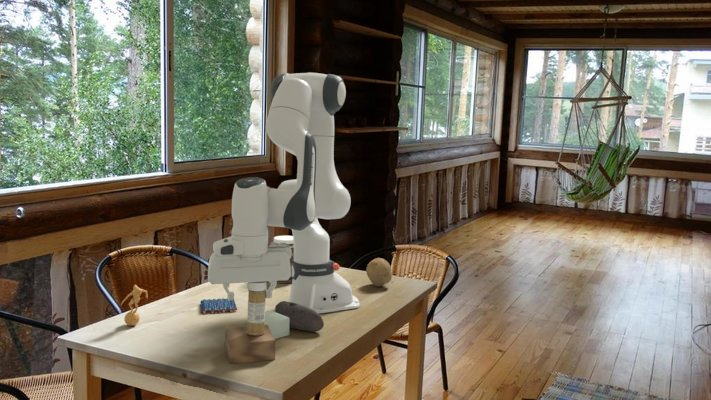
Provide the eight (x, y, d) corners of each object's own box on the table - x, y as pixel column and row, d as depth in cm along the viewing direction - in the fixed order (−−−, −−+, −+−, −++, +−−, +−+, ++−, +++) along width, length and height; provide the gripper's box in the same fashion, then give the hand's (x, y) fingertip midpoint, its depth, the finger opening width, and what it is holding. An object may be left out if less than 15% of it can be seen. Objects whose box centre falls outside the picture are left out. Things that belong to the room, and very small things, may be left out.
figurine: (140, 319, 180) (139, 279, 178) (153, 324, 177) (153, 283, 175) (114, 327, 174) (113, 285, 172) (127, 332, 170) (126, 289, 168)
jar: (289, 272, 234) (290, 233, 232) (308, 280, 225) (309, 239, 223) (262, 277, 227) (262, 236, 224) (280, 285, 218) (280, 242, 216)
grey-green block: (271, 327, 178) (271, 310, 177) (289, 335, 173) (289, 317, 172) (247, 334, 173) (247, 316, 172) (265, 342, 167) (265, 324, 166)
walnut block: (267, 343, 166) (267, 324, 165) (275, 359, 156) (275, 340, 155) (224, 346, 163) (224, 328, 162) (229, 363, 152) (229, 344, 152)
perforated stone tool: (328, 331, 176) (328, 307, 175) (317, 337, 171) (318, 312, 170) (283, 321, 183) (284, 298, 182) (272, 326, 178) (273, 302, 177)
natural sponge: (366, 281, 226) (366, 254, 224) (391, 282, 225) (392, 255, 224) (365, 289, 217) (366, 260, 215) (391, 290, 216) (392, 261, 215)
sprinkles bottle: (263, 329, 162) (265, 278, 160) (265, 336, 157) (267, 283, 155) (245, 330, 160) (247, 278, 158) (247, 336, 156) (249, 284, 154)
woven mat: (237, 313, 189) (237, 307, 189) (201, 316, 186) (201, 309, 186) (234, 303, 199) (234, 296, 199) (200, 305, 196) (200, 298, 196)
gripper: (289, 239, 161) (288, 292, 163) (206, 243, 155) (207, 297, 157) (294, 245, 155) (293, 299, 157) (209, 249, 149) (209, 305, 151)
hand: (249, 298), depth 157 cm, fingers open, 8 cm apart
